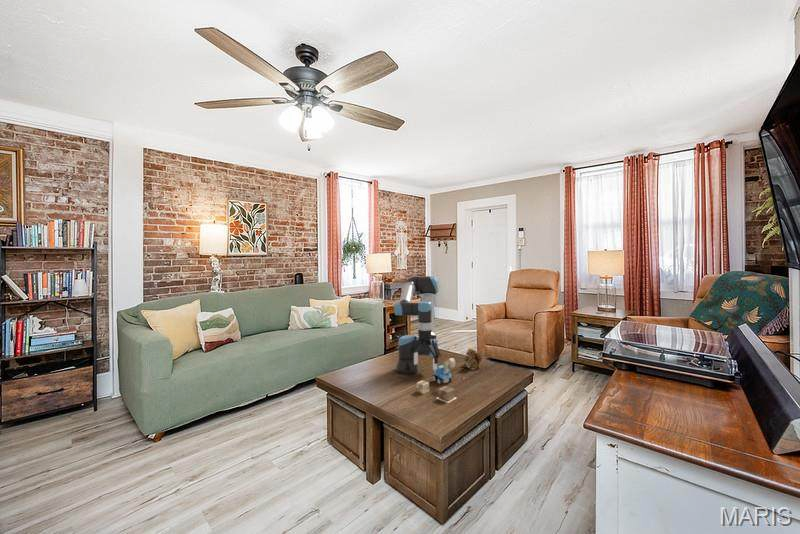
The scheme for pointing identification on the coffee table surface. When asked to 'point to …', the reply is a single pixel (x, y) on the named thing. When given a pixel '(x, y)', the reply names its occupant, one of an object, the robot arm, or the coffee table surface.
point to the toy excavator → (444, 372)
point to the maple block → (422, 387)
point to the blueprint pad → (446, 401)
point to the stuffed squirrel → (472, 359)
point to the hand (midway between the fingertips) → (425, 366)
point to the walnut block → (446, 393)
